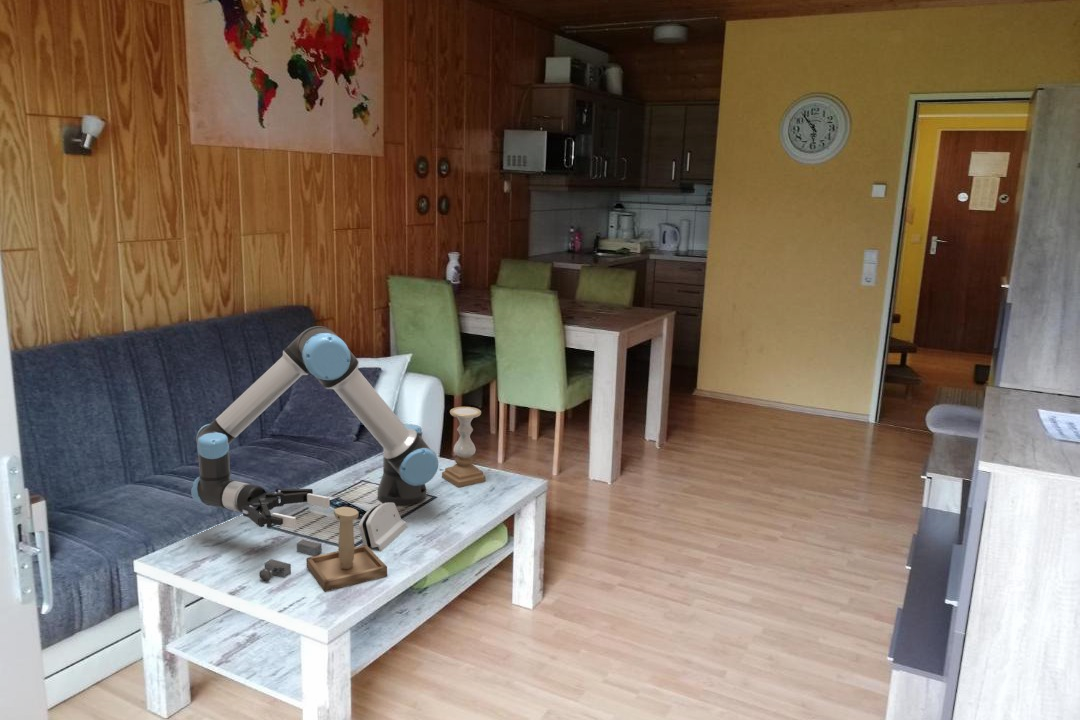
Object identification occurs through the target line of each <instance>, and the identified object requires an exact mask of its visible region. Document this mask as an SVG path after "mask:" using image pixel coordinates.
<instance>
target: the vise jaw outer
mask: <svg viewBox="0 0 1080 720" xmlns="http://www.w3.org/2000/svg"><path fill="white" fill-rule="evenodd" d="M291 566H292V565H291V563H287V562H284V561H280V560H276V559H274V558H273V559H271V558H270V559H268V560H267V561H266V562H264V568H262V569H261V570H260V571H259V573H258V575H259V578H260V580H261V581H263V582H268V581H270V580H271V578H272V576H273V575H274V576H277V577H281V578H284V579H285V578H286V577H287V576H290V574H291V573H292V567H291Z"/></svg>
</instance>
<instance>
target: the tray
mask: <svg viewBox="0 0 1080 720" xmlns="http://www.w3.org/2000/svg"><path fill="white" fill-rule="evenodd" d="M305 561H306V568H307V569H308V571H309V573H310V574H311V575H312V576H313V577H314V579H315V580H316V581H317V583H318V585H319V586H320V587H321V589H323V591H324V592H328V591H334V590H337V589H340V588H344V587H348V586H353V585H357V584H361V583H364V582H368V581H373V580H377V579H380V578H384V577H388V566H387V565H386V564H385V562H383V561H382V560H381V559H380V558H379V557H378V556H377V554H375V552H374V551H373V550H372V548H371V547H368V546H367V545H363V544H362V545H359V546H354V560H353V561H352V562H353V567H352V568H349V569H342V568H341V566H340V560H339V551H338V550H336V551H332V552H331V551H330V552H327V553H324V554H323V553H321V554H319V555H317V556H310V557H307V558H306V559H305Z"/></svg>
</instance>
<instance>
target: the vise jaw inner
mask: <svg viewBox="0 0 1080 720" xmlns="http://www.w3.org/2000/svg"><path fill="white" fill-rule="evenodd" d="M296 552H297V553H300V554H304V555H306V556H307V555H308V556H310V557H313V556H318V555H321V554H323V551H322V543H318V542H315V541H310V540H308V539H301V540H300V541H298V542H296Z"/></svg>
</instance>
